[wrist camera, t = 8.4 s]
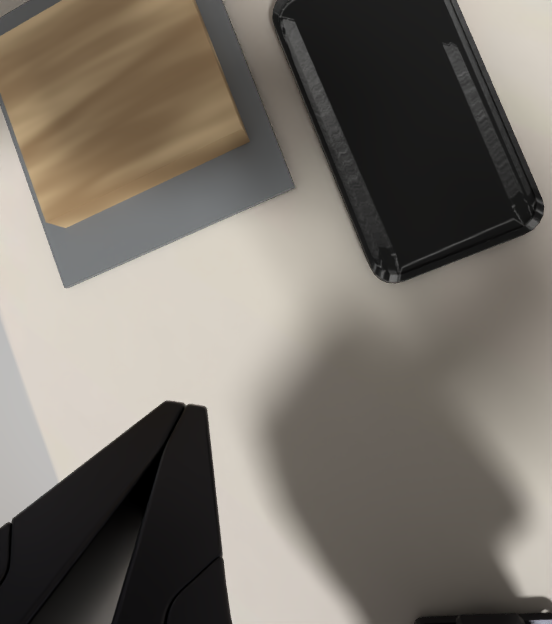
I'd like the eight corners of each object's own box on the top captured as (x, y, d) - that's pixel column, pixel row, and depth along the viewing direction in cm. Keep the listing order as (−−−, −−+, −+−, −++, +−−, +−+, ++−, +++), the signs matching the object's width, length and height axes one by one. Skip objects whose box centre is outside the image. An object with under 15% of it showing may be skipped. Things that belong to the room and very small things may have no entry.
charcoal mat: (295, 187, 21) (294, 186, 20) (68, 288, 23) (64, 287, 23) (188, -87, 22) (186, -92, 21) (-21, 35, 24) (-26, 32, 23)
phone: (380, 290, 19) (265, 2, 20) (379, 291, 20) (269, 18, 21) (555, 222, 18) (424, -83, 19) (543, 227, 19) (419, -61, 20)
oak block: (242, 128, 19) (168, -62, 20) (45, 222, 21) (-17, 45, 22) (249, 141, 21) (181, -36, 21) (65, 228, 23) (7, 62, 23)
